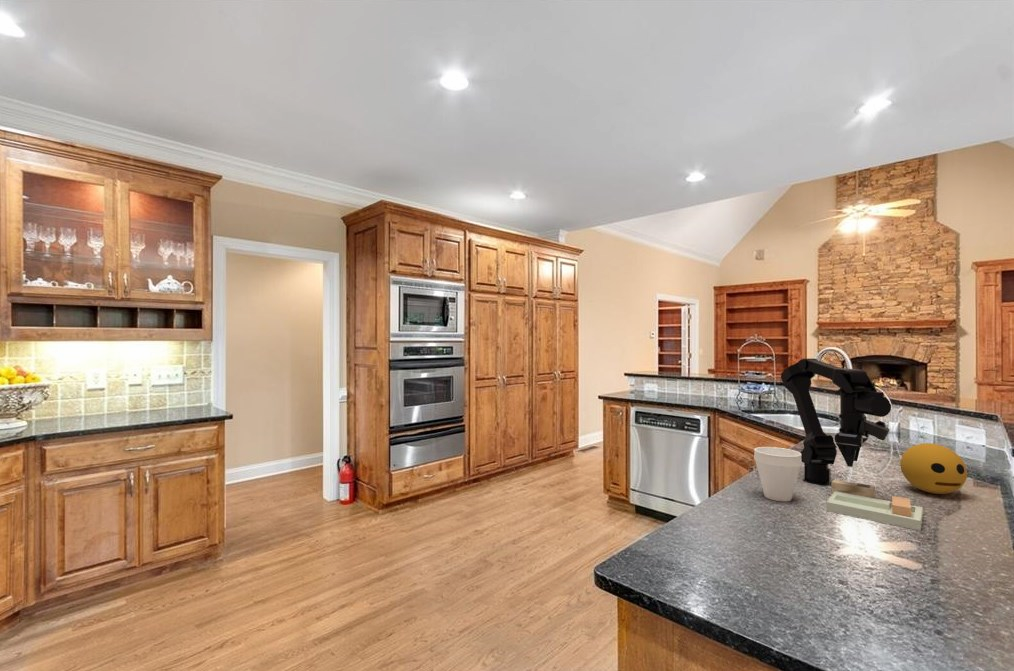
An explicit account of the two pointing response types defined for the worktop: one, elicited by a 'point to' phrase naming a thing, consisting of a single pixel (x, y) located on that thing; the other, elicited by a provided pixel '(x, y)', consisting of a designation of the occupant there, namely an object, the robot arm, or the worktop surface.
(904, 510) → the orange rectangular block
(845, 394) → the robot arm
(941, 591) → the worktop surface
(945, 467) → the toy
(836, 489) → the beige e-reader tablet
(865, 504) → the jig
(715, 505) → the worktop surface
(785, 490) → the cup
